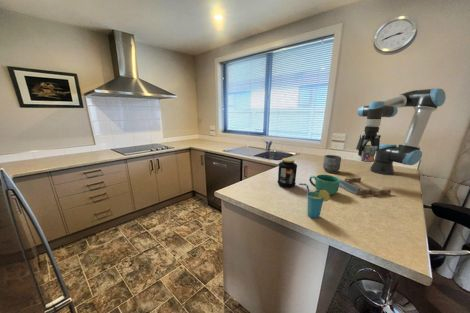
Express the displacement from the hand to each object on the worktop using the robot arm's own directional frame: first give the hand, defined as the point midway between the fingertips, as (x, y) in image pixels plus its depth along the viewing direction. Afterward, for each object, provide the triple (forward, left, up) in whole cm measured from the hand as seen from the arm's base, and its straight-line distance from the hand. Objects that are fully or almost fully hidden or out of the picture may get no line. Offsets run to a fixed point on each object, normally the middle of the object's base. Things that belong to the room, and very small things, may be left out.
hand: (365, 160), depth 123 cm
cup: (+60, +29, -16) cm, 68 cm away
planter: (+4, -26, -16) cm, 31 cm away
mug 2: (-1, 0, -1) cm, 1 cm away
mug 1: (+37, +7, -16) cm, 41 cm away
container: (+54, -7, -16) cm, 56 cm away
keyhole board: (+11, +8, -16) cm, 21 cm away
